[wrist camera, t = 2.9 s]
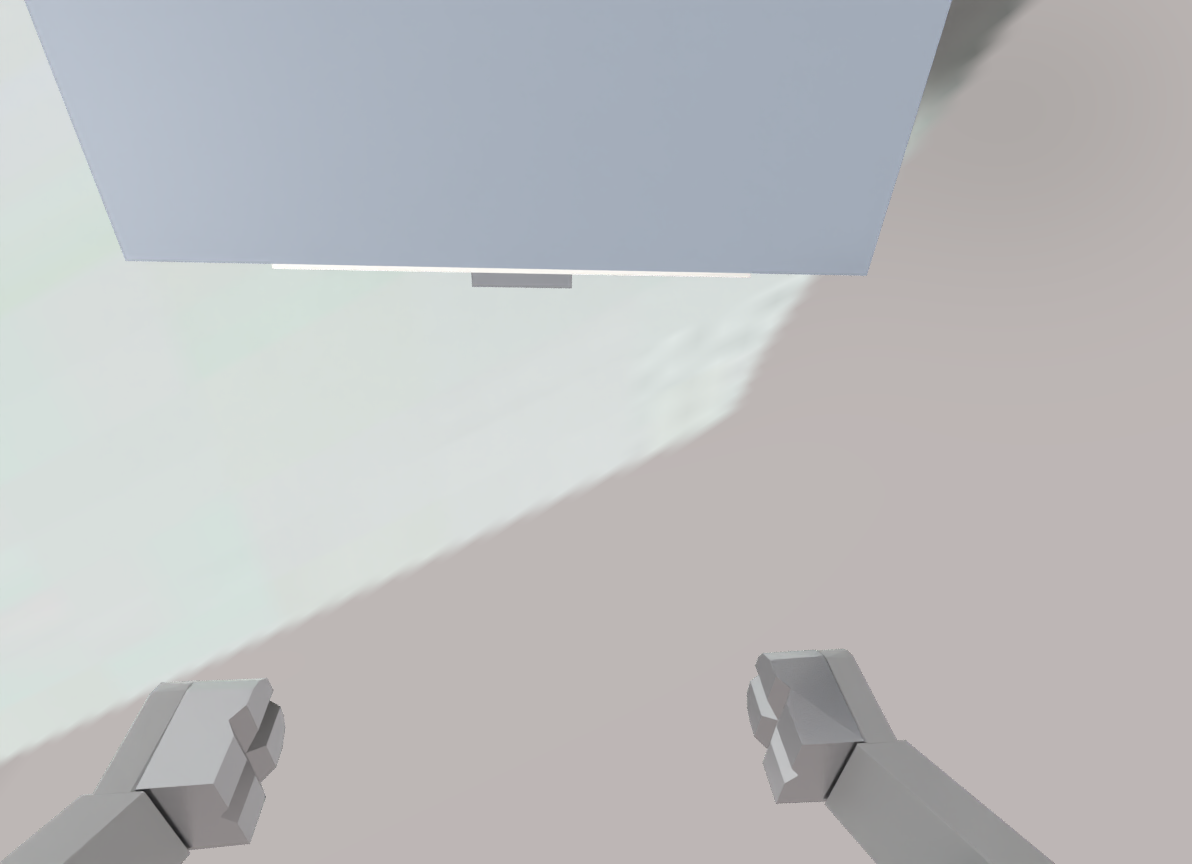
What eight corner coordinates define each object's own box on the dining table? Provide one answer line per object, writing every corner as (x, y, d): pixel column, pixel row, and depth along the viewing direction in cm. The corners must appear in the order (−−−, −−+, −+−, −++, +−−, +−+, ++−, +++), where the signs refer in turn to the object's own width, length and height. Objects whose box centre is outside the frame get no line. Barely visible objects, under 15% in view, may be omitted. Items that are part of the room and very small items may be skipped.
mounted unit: (322, -177, 20) (-391, -880, 4) (708, -141, 21) (1182, -583, 6) (369, 143, 25) (118, 326, 10) (674, 156, 26) (874, 333, 11)
